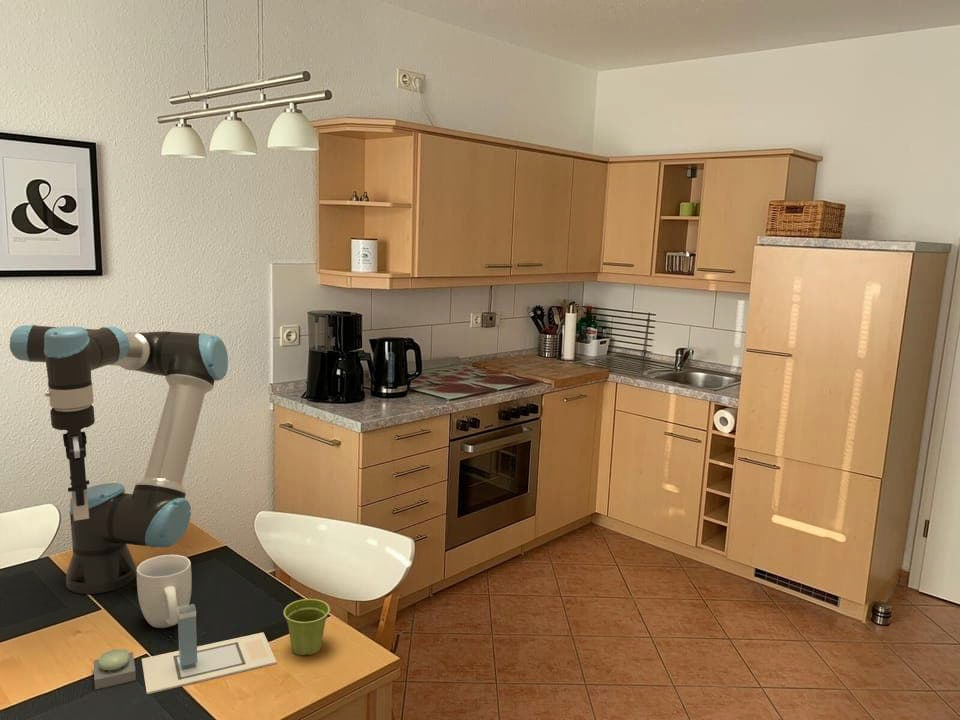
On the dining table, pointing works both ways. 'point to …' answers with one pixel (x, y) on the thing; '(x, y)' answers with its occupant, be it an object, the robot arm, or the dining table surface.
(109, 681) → the button housing
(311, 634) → the plant pot
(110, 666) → the button
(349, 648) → the dining table surface
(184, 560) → the mug
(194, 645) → the square grey prism
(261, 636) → the sheet
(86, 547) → the robot arm
